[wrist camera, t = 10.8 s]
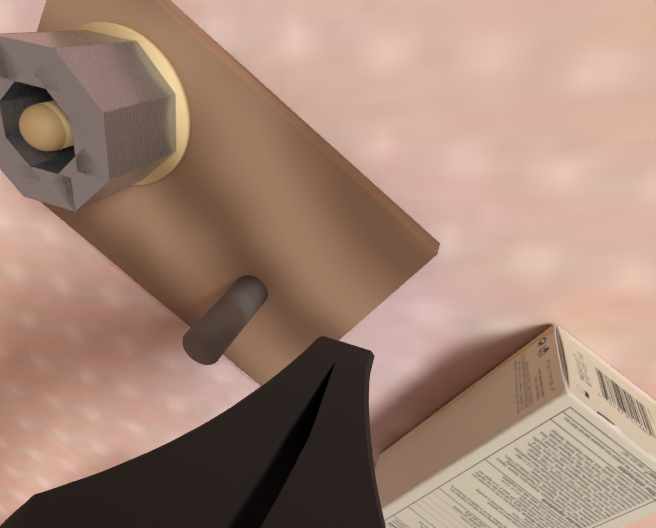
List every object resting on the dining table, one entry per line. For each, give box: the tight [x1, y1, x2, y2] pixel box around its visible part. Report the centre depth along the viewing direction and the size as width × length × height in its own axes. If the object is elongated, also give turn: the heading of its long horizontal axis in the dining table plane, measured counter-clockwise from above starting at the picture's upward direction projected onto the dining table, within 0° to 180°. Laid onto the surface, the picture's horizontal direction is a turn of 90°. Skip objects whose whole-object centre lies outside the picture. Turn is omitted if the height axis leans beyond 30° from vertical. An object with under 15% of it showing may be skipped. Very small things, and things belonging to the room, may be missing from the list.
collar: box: [0, 30, 176, 212], centre depth 18 cm, size 6×6×4 cm
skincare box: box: [375, 325, 656, 528], centre depth 21 cm, size 6×4×12 cm
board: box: [19, 0, 440, 386], centre depth 19 cm, size 12×18×6 cm, turn 52°
